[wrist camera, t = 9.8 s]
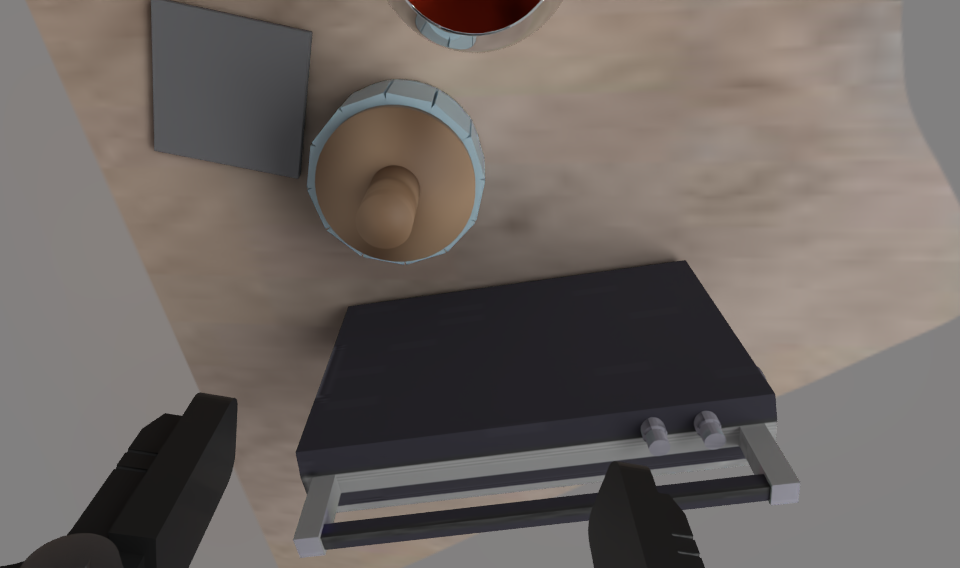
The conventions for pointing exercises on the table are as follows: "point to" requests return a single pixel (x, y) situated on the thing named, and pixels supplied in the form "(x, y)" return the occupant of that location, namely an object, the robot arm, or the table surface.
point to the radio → (532, 406)
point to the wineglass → (475, 21)
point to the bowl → (418, 98)
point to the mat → (229, 88)
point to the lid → (395, 183)
